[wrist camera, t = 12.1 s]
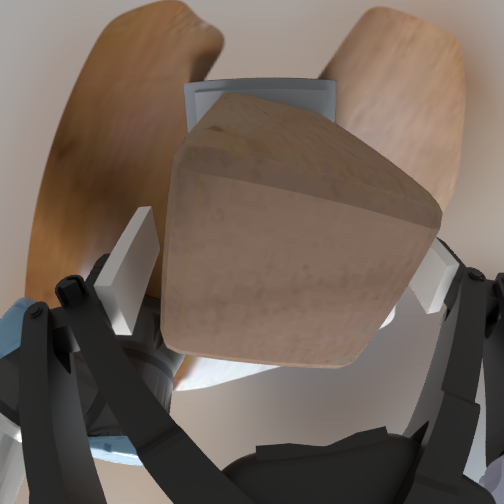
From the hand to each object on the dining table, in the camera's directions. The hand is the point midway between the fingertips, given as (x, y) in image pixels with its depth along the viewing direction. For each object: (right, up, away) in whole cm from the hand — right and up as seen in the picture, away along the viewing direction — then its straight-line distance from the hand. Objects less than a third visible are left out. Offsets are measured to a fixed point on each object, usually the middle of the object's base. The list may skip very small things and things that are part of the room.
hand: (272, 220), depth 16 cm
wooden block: (0, +8, +11) cm, 14 cm away
